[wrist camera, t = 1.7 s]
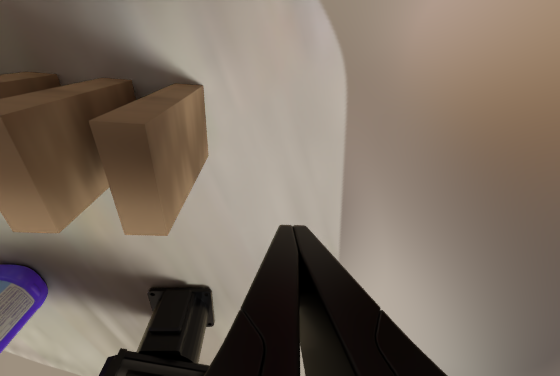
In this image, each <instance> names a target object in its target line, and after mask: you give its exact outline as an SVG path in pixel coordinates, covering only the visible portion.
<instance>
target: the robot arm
mask: <svg viewBox="0 0 560 376" xmlns="http://www.w3.org/2000/svg"><path fill="white" fill-rule="evenodd" d="M148 297H149V301H150V304H151V307H152V310H153V314H152V316H151V319H150V321H149V323H148V326H147V328H146V331H145V333H144V335H143V338H142V340H141V342H140V345H139V347H138V350H137V352H131V351H127V349H122V348H121V349H120V351H119V353H118V355H115V356H111V357H108V358H107V360H106V362H105V364H104V366H103V368H102V370H101V372H100V374H99V376H300V346H301V352H302V358H303V364H304V369H305V375H306V376H447V375H446V374H445V373H444V372H443V371H442V370H441V369H440V368H439V367H438V366H437V365H436V364H435V363H434V362H433V361H431V359H429V358H428V357H427V356H426V355H425V354H424V353H423V352H422V351H421V350H420V349H419V348H418V347H417V346H416V345H415V344H414V343H413V342H412V341H411V340H410V339H409V338H408V337H407V336H406V335H405V333H403V331H402V330H401V329H400V328H399V327H398V326H397V325H396V324H395V323H394V322H393V321H392V320H391V319H390V318H389V316H388V315H387V314H386V313H385V312H384V311H383V310H380V307H379V306H378V304H376V303H375V301H374V300H373V299H372V298H371V297H370V296H369V295H368V294H367V292H366V291H365V290H364V289H363V288H362V287H361V286H360V285H359V284H358V283H357V282H356V280H355V279H354V278H353V277H352V276H351V275H350V274H349V273H348V272H347V270H346V269H345V268H344V267H343V266H342V265H341V264H340V263H339V262H338V261H337V259H336V258H335V257H334V256H333V255H332V254H331V253H330V252H329V251H328V250H327V249H326V247H325V246H324V245H323V244H322V243H321V242H320V241H319V240H318V239H317V238H316V236H315V235H314V234H313V233H312V232H311V231H310V230H309V229H308V228H307V227H306V226H304V225H294V226H293V227H292V226H291V225H280V226H279V227H278V230H277V232H276V234H275V236H274V238H273V240H272V242H271V244H270V247H269V249H268V251H267V253H266V255H265V257H264V259H263V261H262V264H261V266H260V268H259V270H258V272H257V274H256V276H255V278H254V281H253V283H252V285H251V287H250V289H249V291H248V293H247V295H246V298H245V300H244V302H243V304H242V306H241V310H240V311H239V312H238V314H237V316H236V318H235V320H234V323H233V325H232V327H231V329H230V331H229V332H228V334H227V336H226V338H225V340H224V342H223V344H222V346H221V348H220V350H219V351H218V353H217V355H216V356H215V358H214V360H213V361H212V363H211V365H210V366H209V365H203V364H198V362H199V357H200V353H201V348H202V343H203V338H204V334H205V329H206V327H212V326H213V325H214V322H215V320H214V309H213V299H212V291H211V290H210V289H207V288H151V289H149V291H148Z"/></svg>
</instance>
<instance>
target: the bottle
mask: <svg viewBox="0 0 560 376" xmlns="http://www.w3.org/2000/svg"><path fill="white" fill-rule="evenodd" d="M47 294H48V288H47V285H46V283H45V282H44V280H43V279H41V277H40V276H39V275H38V274H37V273H36V272H35V271H33V270H32V269H30V268H28V267H25V266H20V265H0V353H1V352H2V351H3V350H4V349H5V348H6V346H7V345H8V344H9V343H10V342H11V340H12V339H13V338H14V337H15V336H16V335H17V333H18V332H19V331H20V330H21V329H22V328H23V326H24V325H25V324H26V323H27V322H28V321H29V319H30V318H31V317H32V316H33V315H34V313H35V312H36V311H37V309H39V308H40V307H41V305H42V304H43V302H44V301H45V299H46V297H47Z"/></svg>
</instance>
